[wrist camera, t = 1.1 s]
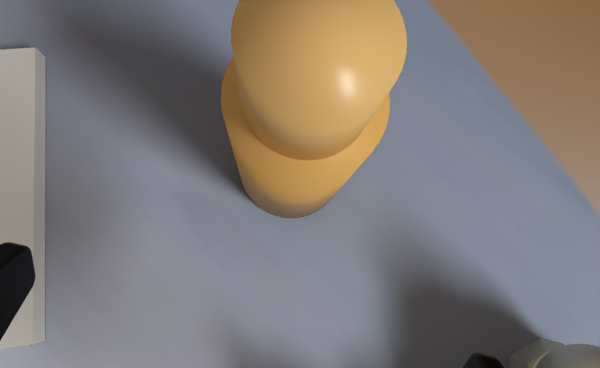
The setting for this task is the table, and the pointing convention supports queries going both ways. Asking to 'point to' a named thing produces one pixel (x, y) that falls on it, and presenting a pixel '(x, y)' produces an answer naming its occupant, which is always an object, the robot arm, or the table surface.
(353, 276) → the table surface
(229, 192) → the table surface
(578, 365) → the valve
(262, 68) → the stepped tan cylinder
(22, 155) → the plate
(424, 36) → the table surface
